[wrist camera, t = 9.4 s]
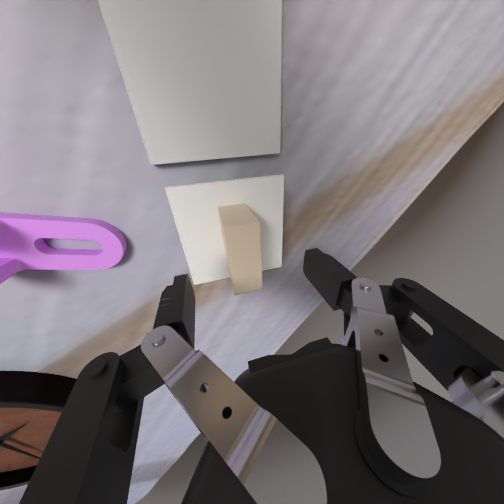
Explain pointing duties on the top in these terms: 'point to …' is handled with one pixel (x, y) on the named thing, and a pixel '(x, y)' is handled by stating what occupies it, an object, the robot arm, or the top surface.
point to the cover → (230, 228)
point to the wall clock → (28, 420)
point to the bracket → (47, 258)
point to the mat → (200, 75)
